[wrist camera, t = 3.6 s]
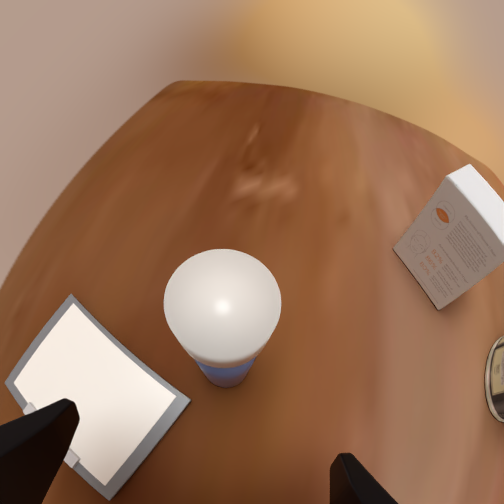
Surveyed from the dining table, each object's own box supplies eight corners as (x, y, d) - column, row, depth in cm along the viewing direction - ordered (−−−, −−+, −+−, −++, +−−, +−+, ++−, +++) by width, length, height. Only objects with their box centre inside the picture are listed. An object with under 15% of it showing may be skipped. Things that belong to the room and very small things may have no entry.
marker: (232, 398, 18) (238, 382, 7) (192, 370, 19) (141, 310, 8) (258, 360, 20) (301, 286, 9) (219, 334, 20) (210, 231, 9)
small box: (461, 285, 24) (525, 229, 15) (437, 312, 22) (512, 256, 13) (419, 228, 28) (470, 161, 19) (390, 248, 26) (446, 173, 17)
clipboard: (112, 498, 12) (106, 502, 12) (8, 383, 15) (1, 381, 14) (191, 400, 18) (189, 399, 17) (74, 296, 21) (68, 291, 20)
